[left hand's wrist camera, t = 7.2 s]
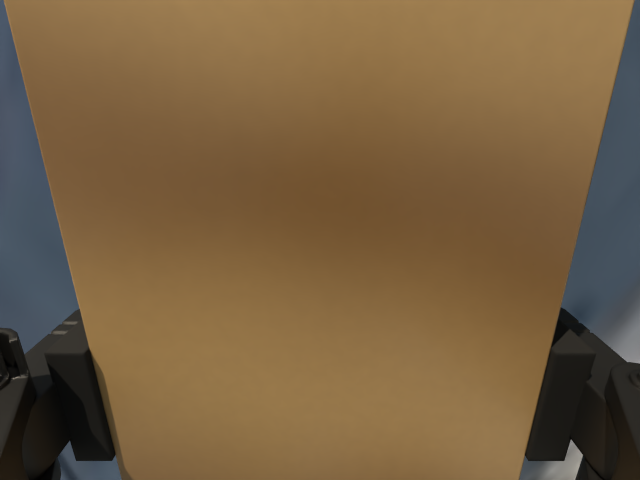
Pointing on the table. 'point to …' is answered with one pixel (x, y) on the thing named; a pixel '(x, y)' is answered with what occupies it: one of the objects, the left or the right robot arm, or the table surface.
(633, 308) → the table surface
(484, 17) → the thick board
